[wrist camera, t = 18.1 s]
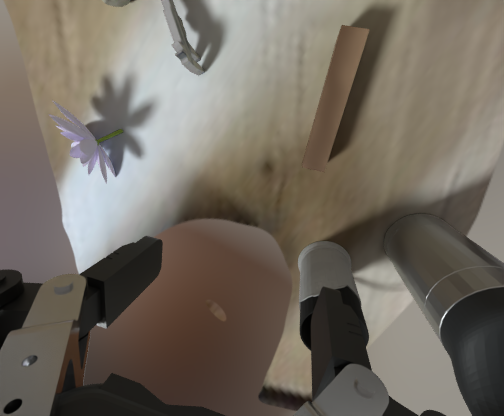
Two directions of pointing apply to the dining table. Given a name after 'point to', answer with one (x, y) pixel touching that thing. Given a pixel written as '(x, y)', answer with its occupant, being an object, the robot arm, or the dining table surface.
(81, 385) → the robot arm
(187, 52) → the caliper
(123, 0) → the ceramic sculpture
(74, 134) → the water lily
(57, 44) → the dining table surface
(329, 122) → the walnut bar
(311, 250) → the glass holder
